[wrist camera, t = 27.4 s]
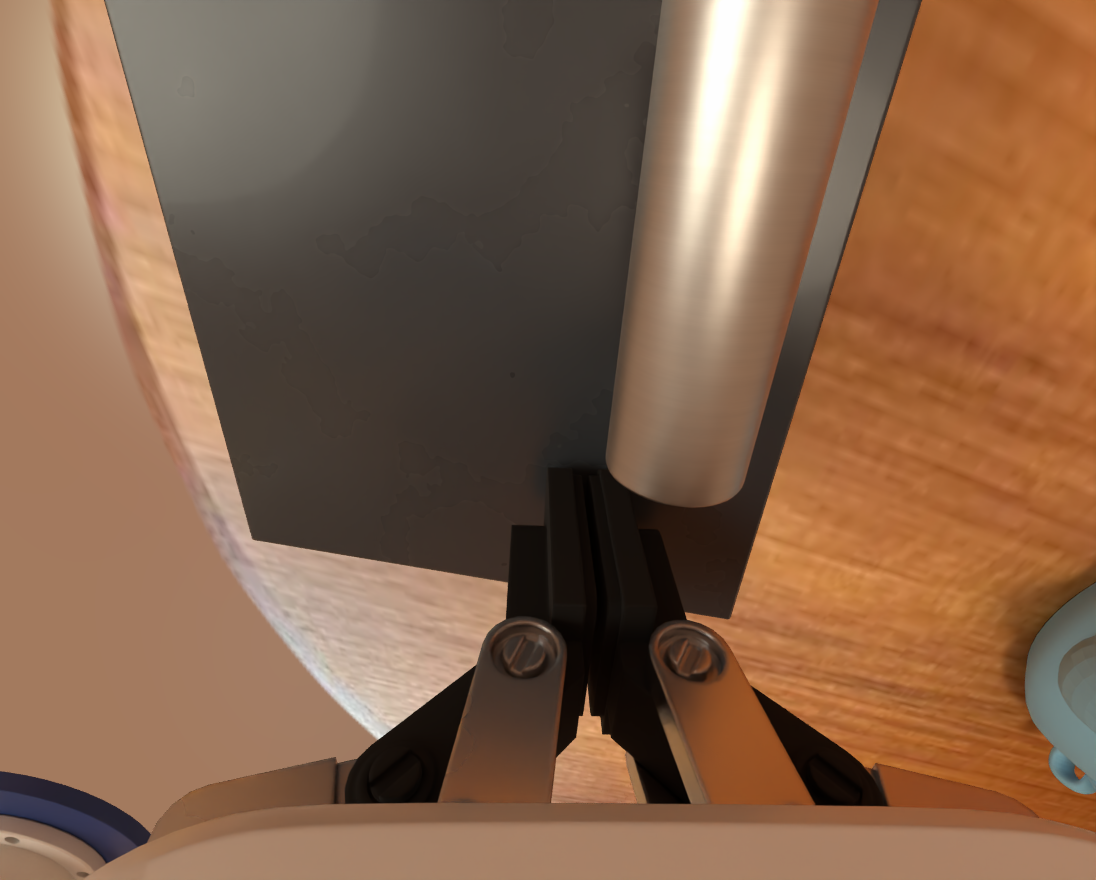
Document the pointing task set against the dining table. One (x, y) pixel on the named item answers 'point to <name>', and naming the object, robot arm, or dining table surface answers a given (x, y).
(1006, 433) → the dining table surface
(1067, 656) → the teapot
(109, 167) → the dining table surface
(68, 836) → the robot arm
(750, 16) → the bin lid
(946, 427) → the dining table surface
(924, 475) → the dining table surface
